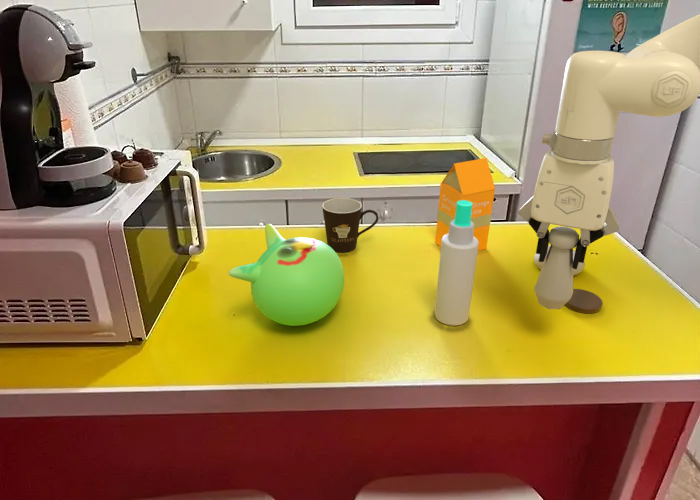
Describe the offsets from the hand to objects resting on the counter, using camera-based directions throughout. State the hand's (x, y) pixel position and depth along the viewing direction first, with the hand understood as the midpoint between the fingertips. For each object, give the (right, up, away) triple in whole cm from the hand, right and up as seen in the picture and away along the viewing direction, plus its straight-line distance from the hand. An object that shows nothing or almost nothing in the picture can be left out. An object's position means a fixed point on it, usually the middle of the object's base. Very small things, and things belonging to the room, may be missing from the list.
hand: (559, 260), depth 80 cm
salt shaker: (0, -7, +4) cm, 8 cm away
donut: (+11, -2, +29) cm, 31 cm away
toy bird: (-42, -10, +14) cm, 45 cm away
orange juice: (-7, +2, +37) cm, 38 cm away
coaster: (+11, -8, +17) cm, 22 cm away
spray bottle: (-14, -11, +13) cm, 22 cm away
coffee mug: (-33, +2, +36) cm, 49 cm away
